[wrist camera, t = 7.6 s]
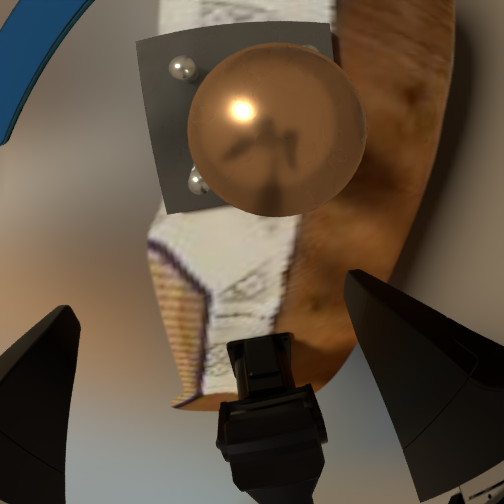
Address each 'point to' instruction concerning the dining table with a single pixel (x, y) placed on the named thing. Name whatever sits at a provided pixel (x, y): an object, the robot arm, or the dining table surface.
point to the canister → (277, 129)
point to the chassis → (186, 85)
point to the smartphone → (30, 50)
